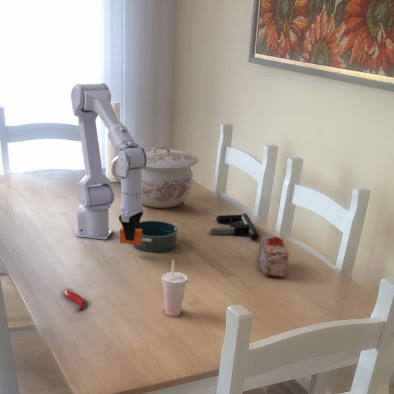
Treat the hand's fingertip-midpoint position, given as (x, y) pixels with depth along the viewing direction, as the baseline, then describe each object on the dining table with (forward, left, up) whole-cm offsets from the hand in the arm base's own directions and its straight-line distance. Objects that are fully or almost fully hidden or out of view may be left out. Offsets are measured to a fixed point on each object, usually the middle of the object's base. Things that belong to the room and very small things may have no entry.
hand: (131, 237), depth 167 cm
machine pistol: (+28, +32, -6) cm, 43 cm away
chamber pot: (-2, +53, -6) cm, 53 cm away
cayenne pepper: (-6, -31, -6) cm, 33 cm away
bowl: (+5, +12, -6) cm, 14 cm away
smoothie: (+19, -31, -6) cm, 37 cm away
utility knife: (+2, 0, -1) cm, 2 cm away
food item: (+42, +3, -6) cm, 42 cm away
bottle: (-25, +76, -6) cm, 80 cm away
